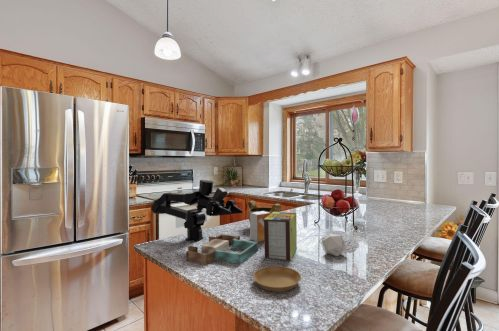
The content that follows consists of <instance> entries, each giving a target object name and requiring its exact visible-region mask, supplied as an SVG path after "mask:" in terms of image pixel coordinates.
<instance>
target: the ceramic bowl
mask: <svg viewBox="0 0 499 331" xmlns="http://www.w3.org/2000/svg"><path fill="white" fill-rule="evenodd" d="M247 206H248V212H247V213H248V215H247V217H248V221H249V223H250V213H253V212H260V211H265V212H269V213H272V212H281V209H282V208H281V204H280V203H275V204H273V205H272V206H258V205H257V203H256V201H255V200H250V201H248V202H247Z"/></svg>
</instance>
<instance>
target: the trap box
mask: <svg viewBox="0 0 499 331" xmlns="http://www.w3.org/2000/svg"><path fill="white" fill-rule="evenodd" d="M214 239H221V240H227V241H229V248H231V249H238V250H242V251H241V252H240V253H239V252H234V251H233V252H231V251H228V250H227V251H220V250H213V251H211V252H210V253H208V254H205V253H202V252H199V251H198V250H199V248H198V246H193V245H188V246H187V250H186V251H185V255H186V256H185V259H186V262H193V263H197V264H203V265H210V264H211V263H213V262H215V261H219V262H220V261H221V262H225V263H233V264H238V265H242V264H243V263H244V262H245V261H247V260H249V258H251V257H253V255H255V253H256V252H258V251H259V242H256V241H253V240H251V241H250V240H245V239H244V240H242V239H241V236H239V235H232V234H231V235H230V234H223V233H220V234H218V235H217V236H211V235H210V236H208V242H209V241H212V240H214Z"/></svg>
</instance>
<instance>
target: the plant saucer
mask: <svg viewBox="0 0 499 331" xmlns="http://www.w3.org/2000/svg"><path fill="white" fill-rule="evenodd" d="M252 278H253V280H254V281H255V282H256V284H257V285H258V286H259V287H261V288H262V289H263V290H266V291H268V292H274V293H282V292H286V291H287V292H289V291H291V290H292V289H293V288H295V287H296V286H297V285H298V284H299V282H301V279H302V275H301V274H300V273H299V271H297V270H296V269H294V268H290V267H286V266H280V265H279V266H277V265H273V266H265V267H261V268H259V269H258V270H256V271H255V272H253V275H252Z"/></svg>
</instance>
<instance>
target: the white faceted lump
mask: <svg viewBox="0 0 499 331" xmlns="http://www.w3.org/2000/svg"><path fill="white" fill-rule="evenodd" d="M321 243H322V245H323V247H324V251H325V252H326V254H328V255H332V256H335V257H339V256H340V255H341V254H342V253H343V252H344V251H345V250H346V249H347V246H346V245H347V244H346V243H345V240H344V238H343V236H342V235H340V234H334V233H332V232H330V233H329V234H327V236H326V237H325V238H323V240H322V242H321Z"/></svg>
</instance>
